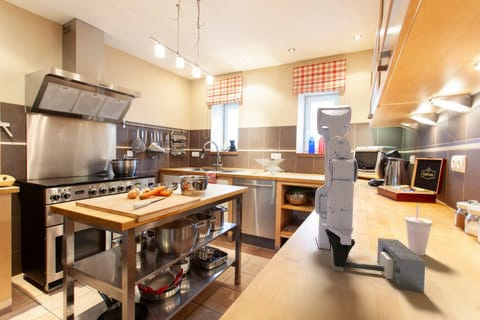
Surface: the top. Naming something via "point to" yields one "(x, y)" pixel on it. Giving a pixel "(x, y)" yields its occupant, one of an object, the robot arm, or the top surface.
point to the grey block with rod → (384, 267)
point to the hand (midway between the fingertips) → (338, 262)
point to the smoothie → (418, 233)
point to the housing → (404, 265)
